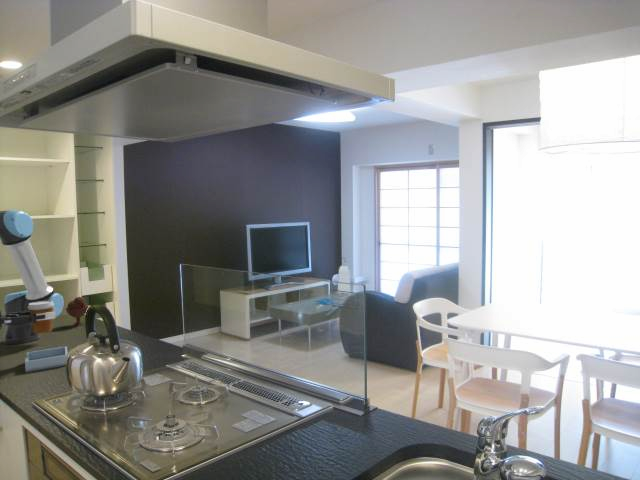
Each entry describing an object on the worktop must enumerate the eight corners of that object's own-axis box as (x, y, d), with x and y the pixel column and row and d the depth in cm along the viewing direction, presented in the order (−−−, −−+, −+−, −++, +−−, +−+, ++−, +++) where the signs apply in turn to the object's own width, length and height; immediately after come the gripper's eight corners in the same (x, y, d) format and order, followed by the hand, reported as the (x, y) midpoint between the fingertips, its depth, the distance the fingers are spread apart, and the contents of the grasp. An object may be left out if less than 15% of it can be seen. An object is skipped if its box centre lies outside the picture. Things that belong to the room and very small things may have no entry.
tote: (27, 362, 204) (26, 352, 203) (67, 355, 211) (66, 346, 210) (25, 372, 191) (24, 362, 191) (68, 365, 198) (67, 355, 197)
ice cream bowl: (86, 321, 274) (84, 294, 273) (92, 324, 265) (90, 296, 264) (65, 325, 267) (63, 297, 266) (70, 328, 259) (68, 299, 258)
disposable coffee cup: (44, 334, 199) (41, 304, 199) (23, 334, 202) (21, 304, 201) (61, 329, 209) (59, 300, 208) (41, 328, 211) (39, 300, 210)
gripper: (-7, 325, 206) (56, 317, 216) (-14, 336, 187) (55, 327, 198) (-8, 307, 206) (54, 300, 216) (-16, 316, 187) (53, 308, 197)
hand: (54, 313), depth 207 cm, fingers closed on disposable coffee cup, 8 cm apart
